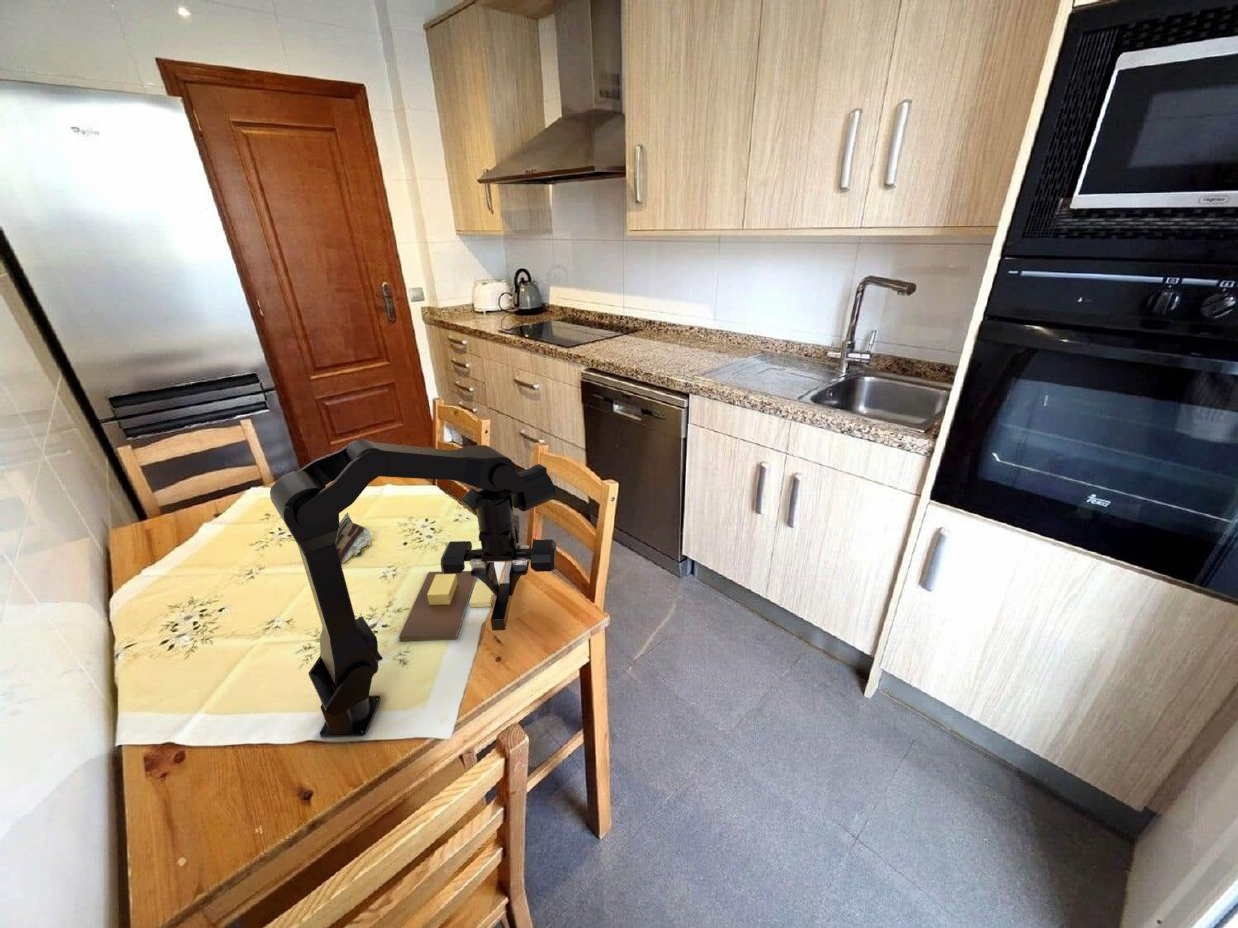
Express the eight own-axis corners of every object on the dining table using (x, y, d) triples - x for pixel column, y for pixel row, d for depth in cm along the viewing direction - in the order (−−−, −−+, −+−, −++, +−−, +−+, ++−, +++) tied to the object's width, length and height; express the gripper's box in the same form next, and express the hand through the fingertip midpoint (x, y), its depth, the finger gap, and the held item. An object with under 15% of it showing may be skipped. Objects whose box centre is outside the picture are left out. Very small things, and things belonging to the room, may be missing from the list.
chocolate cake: (342, 573, 106) (368, 520, 109) (311, 561, 106) (339, 509, 109) (361, 575, 115) (385, 526, 118) (333, 564, 116) (358, 516, 119)
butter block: (450, 604, 96) (448, 594, 95) (429, 604, 96) (426, 594, 95) (457, 583, 101) (456, 573, 100) (437, 584, 101) (435, 574, 100)
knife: (506, 630, 83) (504, 619, 82) (491, 630, 83) (489, 619, 82) (522, 552, 102) (521, 543, 101) (509, 552, 102) (508, 543, 101)
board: (456, 639, 90) (455, 635, 89) (399, 641, 89) (398, 636, 89) (477, 574, 106) (476, 570, 105) (429, 575, 105) (428, 571, 105)
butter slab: (469, 602, 96) (469, 607, 97) (490, 602, 96) (490, 606, 97) (475, 582, 102) (476, 586, 102) (495, 581, 102) (496, 586, 102)
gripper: (556, 494, 90) (560, 564, 97) (450, 496, 89) (462, 566, 96) (551, 530, 80) (556, 604, 87) (433, 532, 79) (447, 607, 86)
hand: (505, 594), depth 89 cm, fingers closed on knife, 2 cm apart
